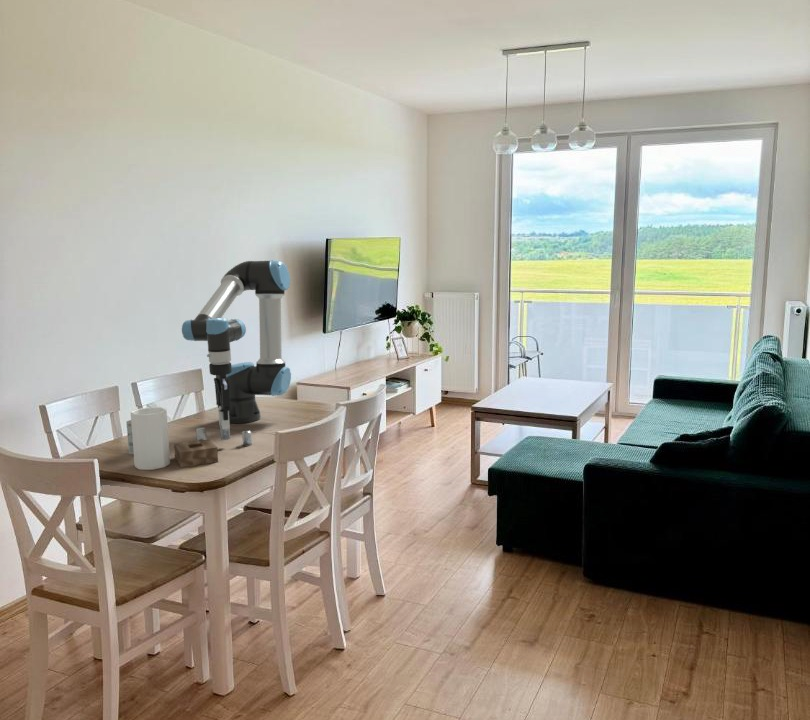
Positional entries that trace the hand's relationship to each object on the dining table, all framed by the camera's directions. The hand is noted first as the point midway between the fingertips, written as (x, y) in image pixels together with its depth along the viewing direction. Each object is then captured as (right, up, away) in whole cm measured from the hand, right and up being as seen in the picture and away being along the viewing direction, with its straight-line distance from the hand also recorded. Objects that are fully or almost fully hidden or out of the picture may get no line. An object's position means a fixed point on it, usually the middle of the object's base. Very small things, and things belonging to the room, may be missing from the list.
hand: (224, 427), depth 266 cm
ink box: (-28, -9, -4) cm, 29 cm away
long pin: (0, -4, +1) cm, 4 cm away
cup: (-19, -11, -19) cm, 29 cm away
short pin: (+7, -7, +4) cm, 11 cm away
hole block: (-6, -10, -13) cm, 18 cm away
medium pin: (-7, -8, -3) cm, 11 cm away
